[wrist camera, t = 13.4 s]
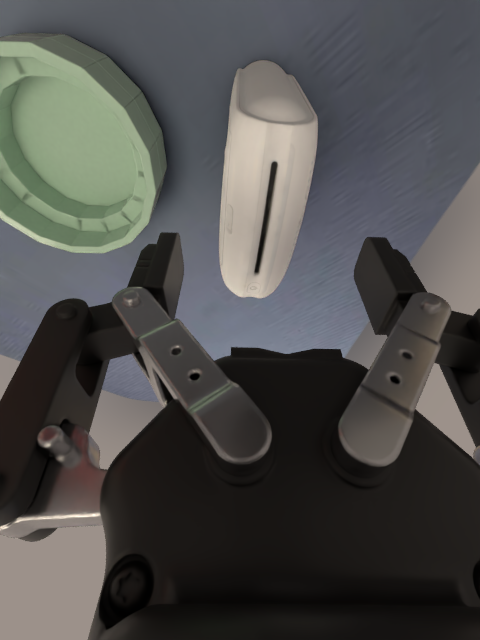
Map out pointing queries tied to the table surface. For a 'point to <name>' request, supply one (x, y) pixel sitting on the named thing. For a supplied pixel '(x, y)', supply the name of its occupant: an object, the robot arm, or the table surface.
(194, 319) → the table surface
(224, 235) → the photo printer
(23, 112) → the bowl
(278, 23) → the table surface
